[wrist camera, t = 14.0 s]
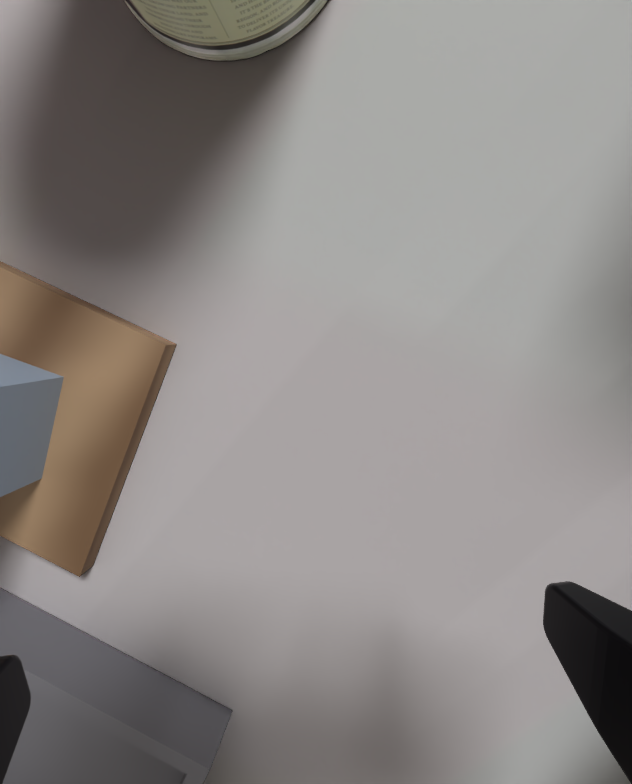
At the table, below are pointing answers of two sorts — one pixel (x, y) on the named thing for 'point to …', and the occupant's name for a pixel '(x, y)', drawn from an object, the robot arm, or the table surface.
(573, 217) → the table surface
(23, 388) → the carton
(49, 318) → the pad
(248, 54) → the coffee can
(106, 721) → the tray
